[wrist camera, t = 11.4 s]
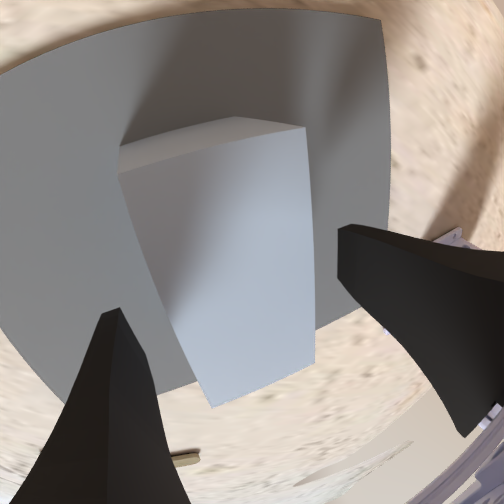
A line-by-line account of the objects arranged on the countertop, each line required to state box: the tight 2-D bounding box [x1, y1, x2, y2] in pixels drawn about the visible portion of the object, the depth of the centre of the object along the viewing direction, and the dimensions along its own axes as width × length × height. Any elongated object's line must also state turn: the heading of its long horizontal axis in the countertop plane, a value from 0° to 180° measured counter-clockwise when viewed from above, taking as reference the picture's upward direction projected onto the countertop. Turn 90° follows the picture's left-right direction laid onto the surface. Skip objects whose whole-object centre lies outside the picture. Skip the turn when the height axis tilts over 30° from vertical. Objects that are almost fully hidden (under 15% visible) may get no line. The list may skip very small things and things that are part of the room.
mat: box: [0, 8, 391, 404], centre depth 13 cm, size 22×18×1 cm
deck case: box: [117, 116, 315, 408], centre depth 11 cm, size 9×4×5 cm, turn 9°
